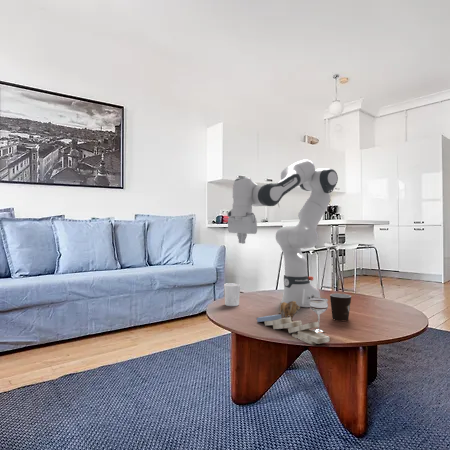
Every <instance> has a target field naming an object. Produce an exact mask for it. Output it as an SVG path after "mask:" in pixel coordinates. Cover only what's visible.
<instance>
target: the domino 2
mask: <svg viewBox="0 0 450 450" xmlns="http://www.w3.org/2000/svg"><path fill="white" fill-rule="evenodd" d="M292 320H293V319H292ZM292 320H291V317H290V316H288V318H285V317H282V318H281V319H277V320H272V321H264V326H273V325H277V324H284V323H288V322H292Z"/></svg>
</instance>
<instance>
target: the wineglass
mask: <svg viewBox="0 0 450 450" xmlns="http://www.w3.org/2000/svg"><path fill="white" fill-rule="evenodd" d="M310 300H311V302H310V307H309V308H310V310H311V311H313V312H314V313H315V314H316V315H317V322H318V323H319V324H320V318H321V314H323V313H325V312H326V311H327V310H328V308H329V303H328V302H329V299H327V298H324V297H320V298H318V297H314V298H310ZM311 330H312V331H315V332H324V331H325V330H324V331H323V329H322V328H321V329H320V326H319V327H317V328H316V329H314V328H313V329H311Z"/></svg>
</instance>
